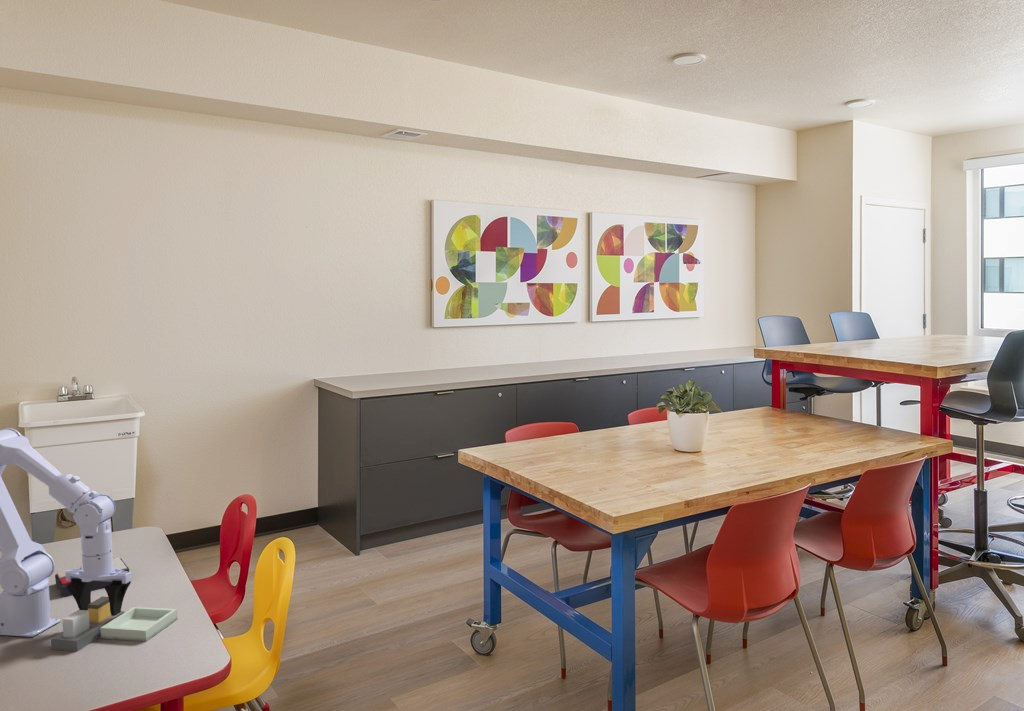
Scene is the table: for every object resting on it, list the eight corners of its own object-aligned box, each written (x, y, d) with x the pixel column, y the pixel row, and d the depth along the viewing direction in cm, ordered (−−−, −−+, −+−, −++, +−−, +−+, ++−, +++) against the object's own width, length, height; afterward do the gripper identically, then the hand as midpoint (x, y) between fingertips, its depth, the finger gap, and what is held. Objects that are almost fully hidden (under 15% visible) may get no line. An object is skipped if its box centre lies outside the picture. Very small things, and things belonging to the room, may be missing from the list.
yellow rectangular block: (89, 631, 153) (87, 604, 153) (103, 622, 157) (102, 596, 157) (99, 632, 153) (97, 605, 152) (113, 623, 157) (112, 596, 157)
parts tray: (100, 638, 150) (100, 627, 150) (134, 616, 160) (134, 606, 160) (146, 641, 148) (145, 630, 148) (177, 619, 159) (177, 609, 158)
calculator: (54, 571, 179) (120, 554, 189) (56, 587, 180) (122, 570, 189) (60, 584, 171) (129, 566, 180) (62, 601, 171) (131, 582, 181)
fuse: (64, 647, 146) (62, 619, 146) (80, 637, 150) (78, 609, 150) (74, 647, 146) (72, 619, 145) (90, 637, 150) (88, 610, 150)
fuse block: (51, 649, 145) (50, 639, 145) (100, 619, 159) (100, 609, 159) (77, 651, 144) (76, 640, 144) (124, 620, 158) (124, 611, 158)
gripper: (53, 557, 151) (56, 619, 152) (114, 560, 149) (117, 622, 150) (78, 546, 158) (81, 605, 159) (137, 548, 156) (140, 608, 157)
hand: (100, 612), depth 155 cm, fingers open, 7 cm apart
